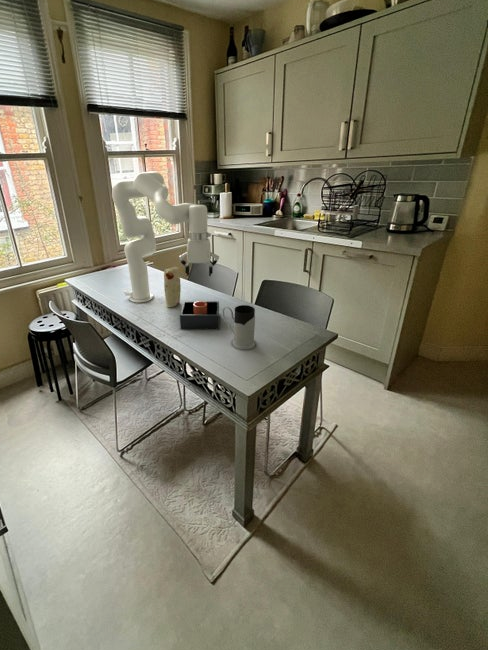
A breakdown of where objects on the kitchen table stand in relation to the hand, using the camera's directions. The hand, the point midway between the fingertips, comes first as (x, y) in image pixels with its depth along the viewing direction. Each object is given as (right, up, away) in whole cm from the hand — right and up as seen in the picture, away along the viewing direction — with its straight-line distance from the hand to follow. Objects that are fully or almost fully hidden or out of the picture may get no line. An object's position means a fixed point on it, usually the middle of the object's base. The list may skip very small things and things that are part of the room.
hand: (199, 275), depth 138 cm
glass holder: (+15, -28, -12) cm, 34 cm away
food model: (-12, -13, +23) cm, 30 cm away
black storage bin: (+1, -21, +5) cm, 21 cm away
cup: (+1, -20, +5) cm, 21 cm away
